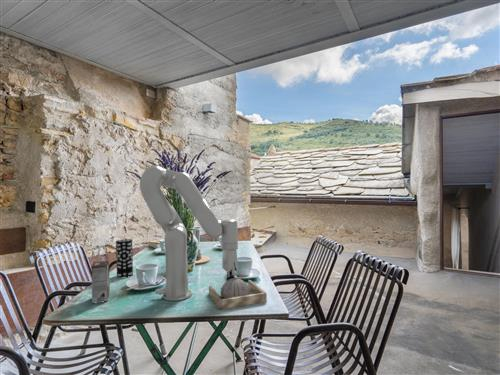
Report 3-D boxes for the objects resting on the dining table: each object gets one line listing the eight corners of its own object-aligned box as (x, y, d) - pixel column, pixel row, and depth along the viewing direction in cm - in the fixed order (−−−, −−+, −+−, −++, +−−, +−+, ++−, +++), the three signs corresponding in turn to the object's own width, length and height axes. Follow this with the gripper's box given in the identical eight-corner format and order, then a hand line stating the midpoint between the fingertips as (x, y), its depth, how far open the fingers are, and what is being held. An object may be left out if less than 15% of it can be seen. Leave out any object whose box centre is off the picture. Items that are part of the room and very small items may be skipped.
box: (219, 309, 115) (219, 300, 115) (209, 293, 133) (208, 285, 133) (266, 301, 122) (266, 293, 122) (250, 287, 140) (250, 279, 140)
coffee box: (94, 297, 132) (93, 261, 132) (110, 294, 135) (109, 260, 135) (91, 304, 124) (90, 266, 124) (108, 301, 126) (107, 264, 126)
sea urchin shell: (214, 299, 126) (213, 281, 126) (231, 289, 138) (231, 272, 138) (240, 305, 119) (239, 285, 119) (256, 294, 131) (255, 276, 131)
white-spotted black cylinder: (132, 276, 162) (132, 241, 162) (116, 278, 158) (115, 242, 158) (133, 272, 169) (132, 238, 169) (117, 274, 166) (116, 239, 166)
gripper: (218, 244, 142) (219, 281, 142) (226, 249, 128) (227, 291, 128) (232, 242, 144) (233, 279, 144) (242, 248, 130) (243, 289, 130)
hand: (230, 285), depth 136 cm, fingers closed
